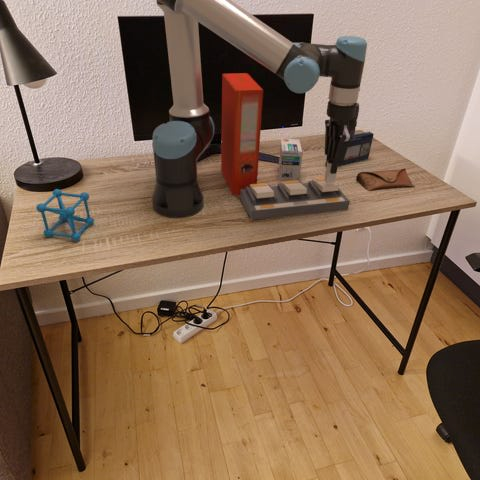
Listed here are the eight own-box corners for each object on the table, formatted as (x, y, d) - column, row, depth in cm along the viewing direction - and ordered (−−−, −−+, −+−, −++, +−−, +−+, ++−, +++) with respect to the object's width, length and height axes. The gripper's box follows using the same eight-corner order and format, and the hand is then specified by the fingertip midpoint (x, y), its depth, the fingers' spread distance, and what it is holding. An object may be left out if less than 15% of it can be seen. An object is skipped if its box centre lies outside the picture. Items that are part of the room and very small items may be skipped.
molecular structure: (62, 218, 121) (54, 186, 115) (96, 223, 119) (89, 191, 114) (42, 238, 113) (33, 205, 107) (78, 243, 111) (70, 210, 106)
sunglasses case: (367, 192, 138) (365, 171, 137) (356, 192, 145) (355, 172, 144) (417, 187, 142) (415, 166, 141) (404, 188, 149) (403, 168, 148)
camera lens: (341, 135, 177) (347, 98, 168) (357, 141, 172) (364, 104, 163) (328, 140, 173) (333, 102, 164) (344, 146, 168) (351, 108, 159)
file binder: (244, 169, 149) (247, 72, 131) (257, 193, 136) (263, 89, 117) (221, 171, 148) (221, 73, 129) (232, 195, 134) (234, 90, 115)
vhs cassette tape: (329, 169, 151) (333, 142, 146) (323, 165, 153) (328, 139, 148) (369, 160, 158) (375, 134, 153) (363, 157, 161) (369, 131, 155)
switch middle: (290, 195, 125) (290, 189, 124) (281, 186, 132) (281, 181, 131) (306, 193, 126) (306, 187, 125) (296, 185, 133) (297, 179, 132)
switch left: (257, 198, 123) (257, 192, 122) (249, 189, 130) (249, 184, 129) (273, 196, 124) (273, 190, 123) (265, 188, 131) (265, 182, 130)
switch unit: (250, 220, 123) (251, 206, 120) (240, 197, 133) (240, 184, 130) (348, 209, 129) (350, 196, 126) (330, 189, 139) (332, 176, 137)
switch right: (322, 192, 127) (322, 186, 126) (312, 183, 134) (312, 178, 133) (338, 190, 128) (338, 184, 127) (327, 182, 135) (327, 177, 134)
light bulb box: (299, 182, 143) (303, 151, 136) (279, 181, 143) (282, 150, 136) (297, 167, 151) (300, 138, 145) (277, 167, 151) (280, 137, 145)
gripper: (367, 108, 110) (351, 190, 123) (345, 93, 120) (332, 170, 133) (339, 110, 108) (326, 193, 122) (319, 94, 118) (309, 172, 132)
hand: (329, 181), depth 128 cm, fingers closed
